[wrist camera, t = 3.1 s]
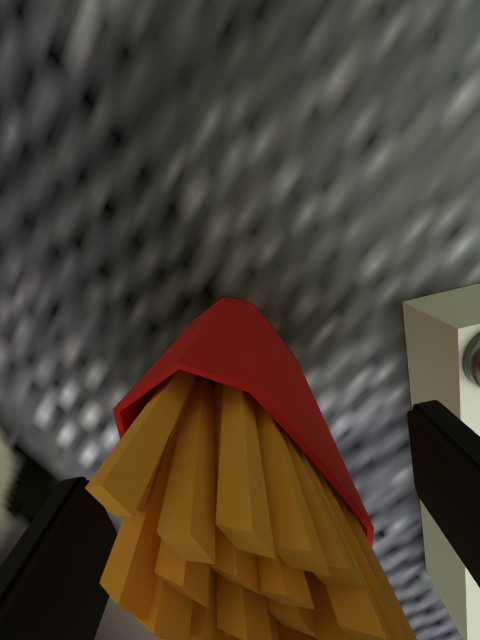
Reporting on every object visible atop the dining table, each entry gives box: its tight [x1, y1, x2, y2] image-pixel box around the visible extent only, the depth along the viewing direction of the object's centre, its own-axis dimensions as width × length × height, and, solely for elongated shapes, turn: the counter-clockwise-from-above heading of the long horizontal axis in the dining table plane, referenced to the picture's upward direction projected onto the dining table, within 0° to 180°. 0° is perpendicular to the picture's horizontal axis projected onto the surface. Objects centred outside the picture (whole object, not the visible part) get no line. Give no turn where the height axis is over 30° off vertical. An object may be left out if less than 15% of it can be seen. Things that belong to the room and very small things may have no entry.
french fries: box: [85, 296, 417, 640], centre depth 10 cm, size 8×4×12 cm, turn 37°
